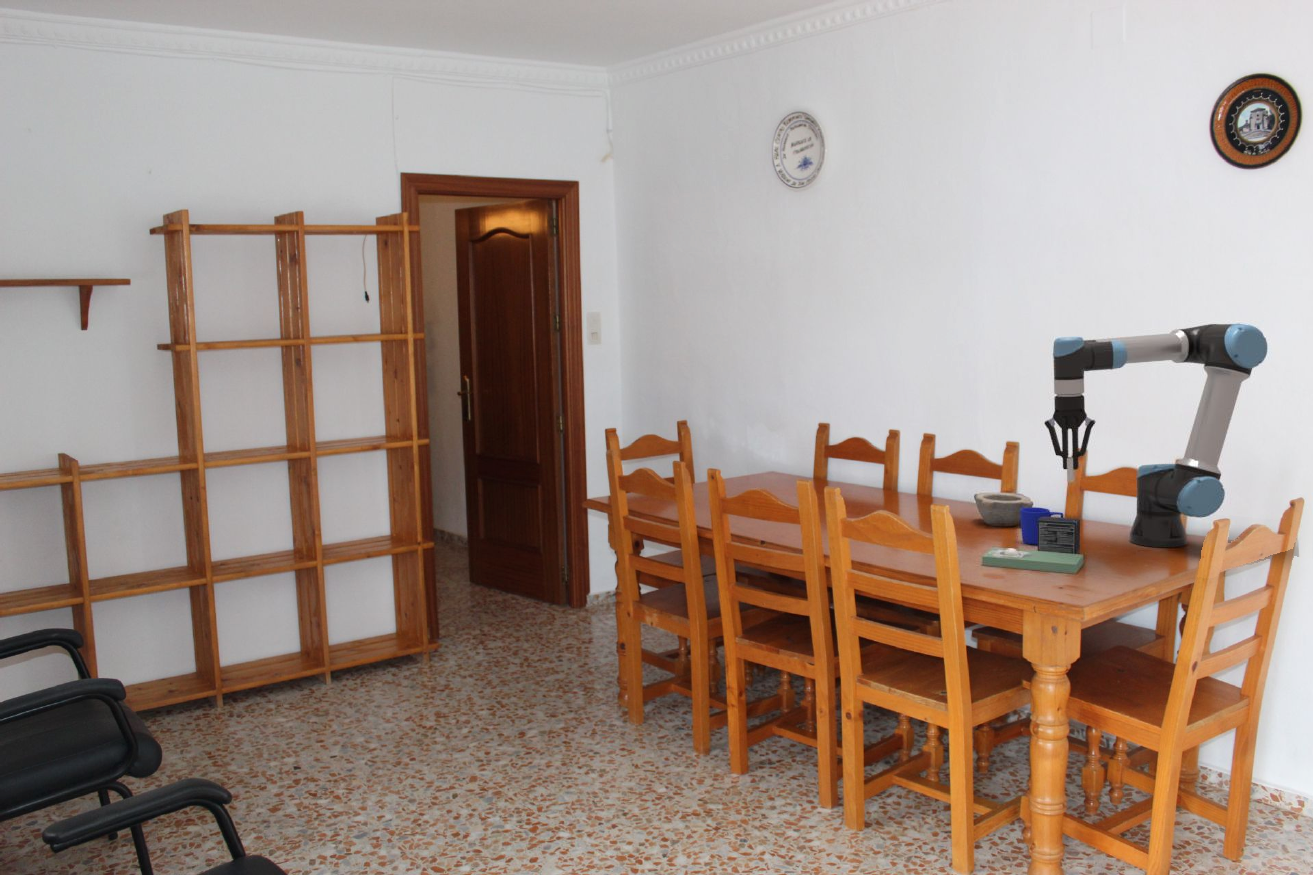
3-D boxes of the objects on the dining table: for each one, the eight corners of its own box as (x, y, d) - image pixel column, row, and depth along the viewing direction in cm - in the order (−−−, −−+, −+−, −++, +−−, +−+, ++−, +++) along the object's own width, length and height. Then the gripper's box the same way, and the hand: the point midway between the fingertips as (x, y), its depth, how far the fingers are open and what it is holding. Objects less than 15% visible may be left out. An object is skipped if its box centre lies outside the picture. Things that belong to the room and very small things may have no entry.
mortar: (1035, 529, 330) (1035, 500, 329) (979, 529, 332) (980, 500, 331) (1024, 519, 346) (1024, 491, 345) (971, 519, 349) (971, 491, 348)
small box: (1080, 554, 295) (1081, 517, 294) (1076, 559, 290) (1077, 522, 289) (1041, 551, 301) (1041, 515, 300) (1036, 556, 295) (1037, 519, 294)
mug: (1065, 546, 306) (1065, 512, 304) (1021, 545, 308) (1022, 512, 307) (1060, 540, 314) (1060, 507, 312) (1018, 539, 316) (1018, 507, 315)
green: (1083, 563, 285) (1083, 554, 284) (1075, 573, 274) (1075, 564, 274) (992, 555, 297) (992, 547, 297) (982, 565, 287) (982, 556, 286)
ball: (1020, 563, 289) (1018, 550, 290) (1020, 559, 285) (1017, 545, 287) (1005, 565, 290) (1003, 551, 292) (1004, 560, 287) (1002, 546, 288)
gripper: (1097, 392, 282) (1098, 479, 285) (1046, 393, 289) (1048, 478, 292) (1093, 395, 276) (1095, 484, 279) (1041, 396, 282) (1043, 483, 285)
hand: (1071, 481), depth 285 cm, fingers closed
